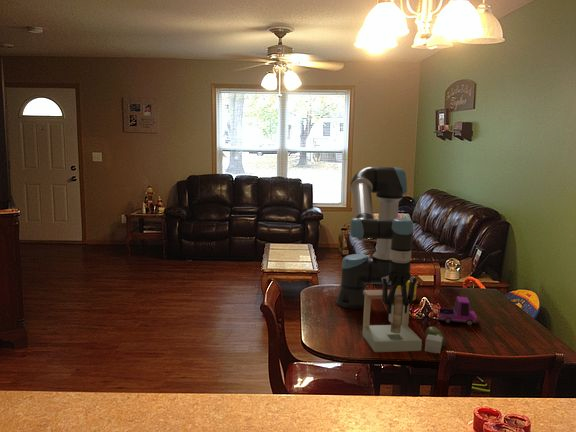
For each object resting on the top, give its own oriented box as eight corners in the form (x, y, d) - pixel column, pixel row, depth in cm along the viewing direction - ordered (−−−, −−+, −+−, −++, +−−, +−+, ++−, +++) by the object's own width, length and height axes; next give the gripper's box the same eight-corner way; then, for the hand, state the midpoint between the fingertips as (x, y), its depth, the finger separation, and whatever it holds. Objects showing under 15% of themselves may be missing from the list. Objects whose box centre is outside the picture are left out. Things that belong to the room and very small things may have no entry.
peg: (389, 329, 197) (391, 294, 195) (398, 329, 198) (400, 294, 195) (392, 333, 194) (395, 297, 191) (401, 333, 194) (404, 297, 192)
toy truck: (476, 327, 220) (478, 304, 218) (438, 323, 223) (440, 301, 221) (472, 318, 230) (474, 296, 229) (436, 315, 233) (438, 293, 232)
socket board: (362, 335, 207) (362, 325, 207) (405, 333, 210) (406, 324, 209) (374, 352, 192) (375, 341, 191) (421, 350, 194) (421, 340, 194)
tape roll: (417, 301, 251) (419, 282, 250) (397, 300, 251) (398, 281, 250) (413, 294, 261) (414, 276, 260) (393, 294, 261) (394, 275, 260)
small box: (440, 354, 192) (441, 341, 191) (424, 351, 194) (425, 339, 193) (441, 348, 197) (442, 336, 196) (426, 345, 199) (427, 333, 198)
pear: (436, 323, 207) (450, 337, 198) (433, 335, 209) (447, 349, 200) (423, 324, 205) (437, 338, 196) (421, 336, 207) (435, 350, 198)
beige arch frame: (361, 325, 207) (363, 290, 205) (406, 324, 210) (409, 289, 207) (366, 331, 201) (368, 295, 198) (413, 330, 203) (415, 294, 201)
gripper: (381, 263, 186) (377, 325, 190) (425, 263, 189) (421, 324, 193) (375, 258, 194) (371, 318, 198) (417, 258, 196) (413, 317, 200)
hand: (396, 321), depth 195 cm, fingers closed on peg, 3 cm apart
